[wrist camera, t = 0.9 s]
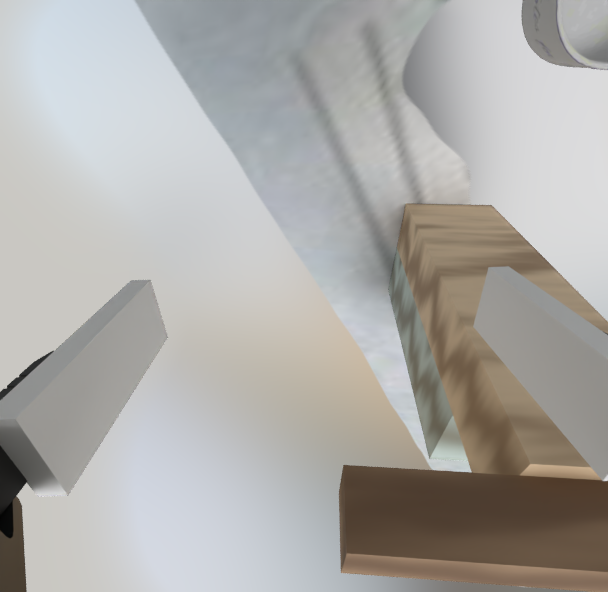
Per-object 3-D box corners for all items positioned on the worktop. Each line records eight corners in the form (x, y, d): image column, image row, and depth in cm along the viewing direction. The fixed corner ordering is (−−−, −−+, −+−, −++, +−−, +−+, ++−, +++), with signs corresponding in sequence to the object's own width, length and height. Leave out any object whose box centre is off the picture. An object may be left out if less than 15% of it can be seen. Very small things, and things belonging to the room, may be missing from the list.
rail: (343, 465, 16) (346, 553, 13) (865, 495, 15) (988, 599, 12) (339, 492, 18) (340, 572, 15) (792, 520, 17) (881, 613, 14)
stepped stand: (405, 203, 38) (530, 463, 15) (491, 205, 37) (762, 477, 14) (388, 289, 46) (450, 544, 23) (458, 291, 46) (595, 554, 22)
